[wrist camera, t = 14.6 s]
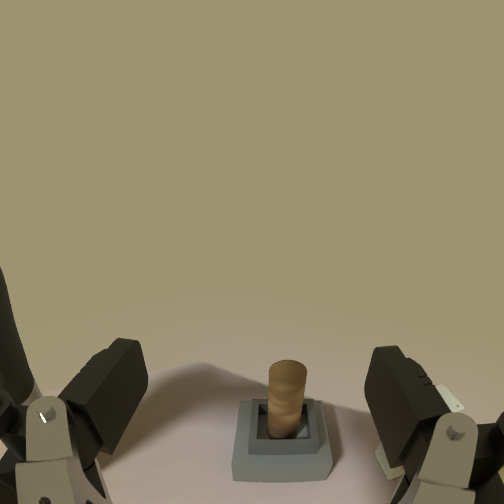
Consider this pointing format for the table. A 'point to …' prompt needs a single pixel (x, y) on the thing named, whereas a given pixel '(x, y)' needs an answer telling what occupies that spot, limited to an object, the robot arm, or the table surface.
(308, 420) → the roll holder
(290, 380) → the cardboard roll
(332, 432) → the table surface
